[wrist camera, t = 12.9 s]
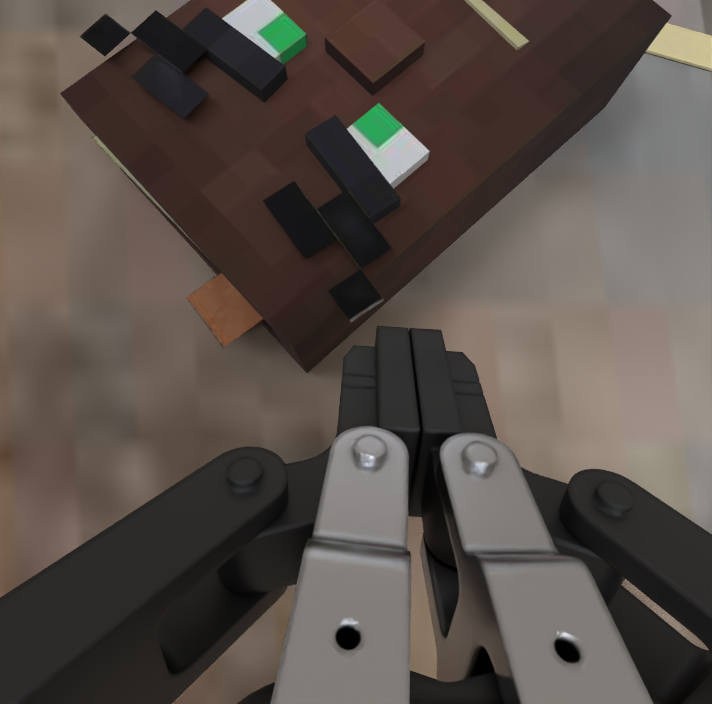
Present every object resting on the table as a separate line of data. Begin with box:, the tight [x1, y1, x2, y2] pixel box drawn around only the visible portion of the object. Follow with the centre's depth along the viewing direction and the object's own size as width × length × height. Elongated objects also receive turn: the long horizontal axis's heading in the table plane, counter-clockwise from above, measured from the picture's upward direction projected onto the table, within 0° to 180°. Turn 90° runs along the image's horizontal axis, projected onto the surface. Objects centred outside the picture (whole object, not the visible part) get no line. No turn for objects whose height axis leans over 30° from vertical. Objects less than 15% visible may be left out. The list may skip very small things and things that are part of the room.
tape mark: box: [646, 23, 712, 71], centre depth 32 cm, size 2×9×1 cm, turn 72°
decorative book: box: [60, 0, 671, 373], centre depth 27 cm, size 19×8×30 cm
